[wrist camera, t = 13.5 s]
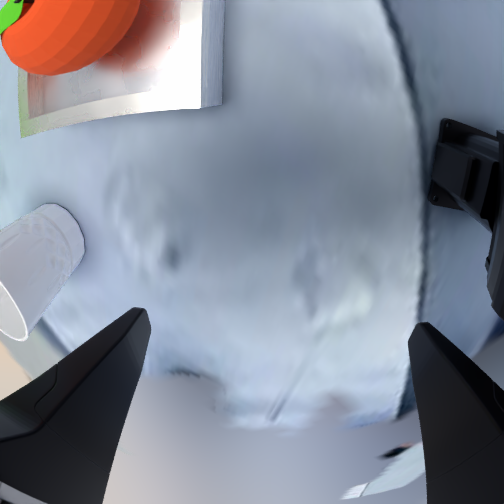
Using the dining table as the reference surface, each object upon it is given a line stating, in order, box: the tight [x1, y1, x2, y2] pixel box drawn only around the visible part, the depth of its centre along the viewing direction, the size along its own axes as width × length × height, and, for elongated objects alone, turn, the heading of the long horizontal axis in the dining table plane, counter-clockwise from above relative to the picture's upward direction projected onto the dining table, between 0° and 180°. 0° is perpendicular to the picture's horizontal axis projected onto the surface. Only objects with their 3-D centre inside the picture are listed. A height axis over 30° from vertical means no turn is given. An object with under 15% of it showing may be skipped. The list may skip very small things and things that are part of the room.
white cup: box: [0, 204, 85, 341], centre depth 18 cm, size 8×8×10 cm
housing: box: [18, 0, 225, 138], centre depth 11 cm, size 12×12×6 cm
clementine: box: [0, 0, 141, 76], centre depth 7 cm, size 8×7×7 cm
